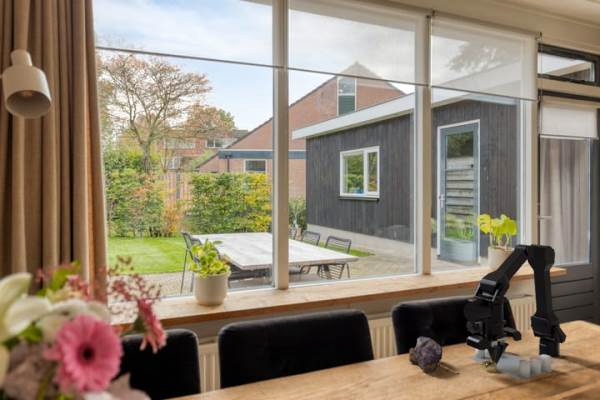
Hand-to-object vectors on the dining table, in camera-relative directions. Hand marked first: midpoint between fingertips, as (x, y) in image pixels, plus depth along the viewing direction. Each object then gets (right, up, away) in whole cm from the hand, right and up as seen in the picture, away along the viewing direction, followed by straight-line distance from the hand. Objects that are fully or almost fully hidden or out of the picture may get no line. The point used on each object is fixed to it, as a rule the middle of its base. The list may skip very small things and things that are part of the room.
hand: (494, 364), depth 137 cm
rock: (-21, -3, +5) cm, 21 cm away
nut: (-2, -2, -1) cm, 3 cm away
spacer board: (+7, -2, +4) cm, 8 cm away
